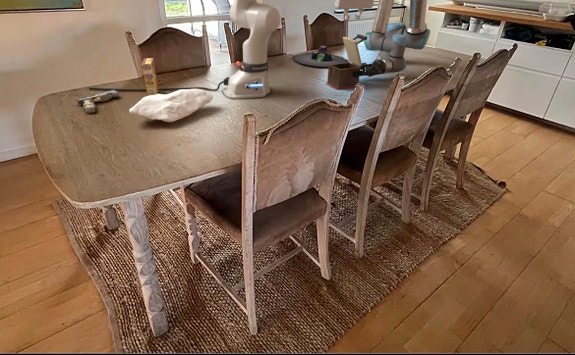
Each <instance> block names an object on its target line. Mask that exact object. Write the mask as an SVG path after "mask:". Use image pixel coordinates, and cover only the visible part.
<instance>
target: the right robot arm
mask: <svg viewBox="0 0 575 355" xmlns="http://www.w3.org/2000/svg"><path fill="white" fill-rule="evenodd" d="M394 2H395V0H378V3H377V7H376V12H375V17H374V21H373V24H372V29H371V32H372V33H371V34H368V35H367V36H366V35H365V36H366V37H367V40H365V44H364V47H365V48H366V49H367V48H368V49H367V50H372V51H379V52H378V54H377V56H376V59H375V60H374V61H373V62H372V63H367V62H361V63H362V65H361V66H359V67H361V70H360V71H354V75H353V77H359V78H360V77H364V76H365V77H368V78H371V77H374V76H379V75H386V74H393V73H399V72H403V71H404V70H405V69H406V68H407V59H406V58H405V57H404V56H405V51H406V48H407V49H412V50H419V51H420V50H423V49H425V47H426V45H427V44H428V43H427V42H428V40H429V38H430V36H431V35H430V34H431V29H430V28H428V24H427V23H426V14H427V2H428V0H409V13H408V14H409V15H408V16H409V18H408V23H407V24H406V23H405V22H390V23H389V21H390V17H391V14H392V9H393V5H394ZM352 64H353V63H352ZM354 65H356V64H354ZM357 66H358V65H357Z"/></svg>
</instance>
